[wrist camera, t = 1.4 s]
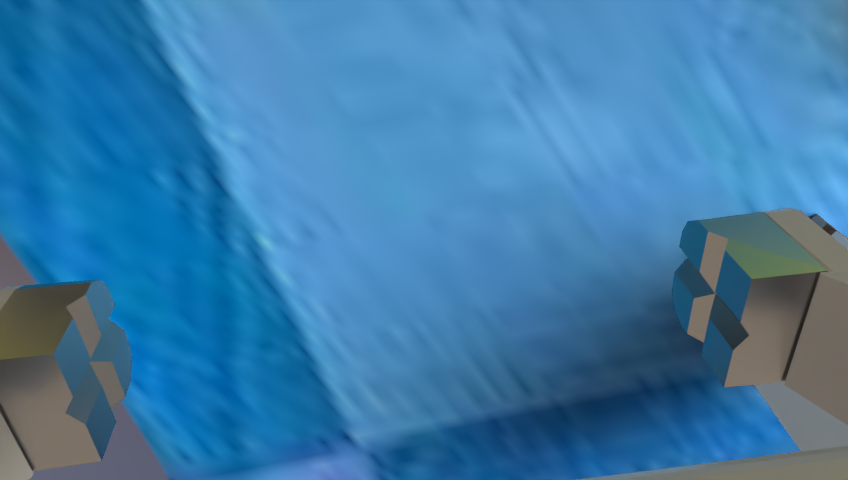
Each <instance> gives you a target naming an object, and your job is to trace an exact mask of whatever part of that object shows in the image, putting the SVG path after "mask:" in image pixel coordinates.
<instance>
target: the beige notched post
mask: <svg viewBox="0 0 848 480" xmlns="http://www.w3.org/2000/svg"><path fill="white" fill-rule="evenodd" d="M811 220H812V221H814V222H815V223H816V224H817V225H818V226H820V227H821V228H822V229H823V230H824V231H826V232H827V233H828V234H829V235H830V236H832V237H833V238H834V239H835V240H837V241H838V242H839V243H840V244H841V245H843V246H844V247H845V248H846V249H847V250H848V239H847V238H846V237H845V236H844V235H842V234H841V233H840V232H839V231H837V230H836V229H835V228H834V227H832V226H831V225H830V224H829V223H827V222H826V221H825V220H824V219H822V218H821V217H820V216H819V215H817V214H816V215H815V216H813V217H812V218H811ZM702 343H703V344H704V342H702ZM784 383H785V382H779V383H768V384H757V385H754V386H755V387H756V389H757V390H758V391H759V393H760V394H761V396H762V397H763V398H764V400H765V401H766V403H767V404H768V405H769V407H770V408H771V410H772V411H773V413H774V414H775V415H776V417H777V418H778V420H779V421H780V422H781V424H782V425H783V427H784V428H785V429H786V431H787V432H788V434H789V435H790V436H791V438H792V439H793V441H794V442H795V443H796V445H797V446H798V448H799V449H800V450H801V452H802V451H810V450H818V449H826V448H833V447H841V446H848V425H846V424H845V423H843V422H841V421H840V420H838V419H837V418H835V417H834V416H832V415H831V414H829V413H827V412H826V411H824V410H823V409H821V408H820V407H818V406H816V405H815V404H813V403H812V402H810V401H809V400H807V399H806V398H804V397H802V396H801V395H799V394H798V393H796V392H795V391H793V390H791V389H790V388H788V387H787V386H785V385H784Z"/></svg>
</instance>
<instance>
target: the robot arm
mask: <svg viewBox="0 0 848 480" xmlns="http://www.w3.org/2000/svg"><path fill="white" fill-rule="evenodd" d="M679 247H680V248H681V250H682V251H683V252H684V254H685V255H686V257H687V259H686V260H685V261H684V262H683V264H682V265H681V266H680V267H679V268H678V269H677V270H676V271H675V274H674V281H673V288H672V295H673V303H674V310H675V312H676V315H677V317H678V320H679V322H680V324H681V325H682V327H683V329H684V330H685V332H686V333H687V334H688V335H690V336H692V337H694V338H696V339H698V340H700V341H702V342H704V344H703V349H702V353H701V355H702V357H703V358H704V359H705V361H706V362H707V364H708V365H709V367H710V368H711V369H712V371H713V372H714V374H715V375H716V377H717V378H718V380H719V381H720V382H721V384H722V385H723V387H735V386H746V385H757V384H768V383H779V382H785V383H784V385H785V386H787V387H788V388H790V389H791V390H793V391H795V392H796V393H798V394H799V395H801V396H802V397H804V398H806V399H807V400H809V401H810V402H812V403H813V404H815V405H816V406H818V407H820V408H821V409H823V410H824V411H826V412H827V413H829V414H831V415H832V416H834V417H835V418H837V419H838V420H840V421H841V422H843V423H845V424H846V425H848V250H847V249H846V248H845V247H844V246H843V245H841V244H840V243H839V242H838V241H837V240H835V239H834V238H833V237H832V236H830V235H829V234H828V233H827V232H826V231H824V230H823V229H822V228H821V227H820V226H818V225H817V224H816V223H815V222H814V221H812V220H811V219H810V218H809V217H808V216H806V215H805V214H804V213H803V212H802V211H800V210H796V209H792V208H785V209H778V210H771V211H763V212H756V213H751V214H743V215H735V216H727V217H719V218H711V219H703V220H695V221H688V222H687V224H686V226H685V228H684V229H683V231H682V236H681V241H680V246H679ZM114 306H115V303H114V301H113V298H112V296H111V293H110V291H109V289H108V286H107V285H106V284H105V283H103V282H102V281H100V280H99V279H98V280H85V281H73V282H61V283H48V284H36V285H25V286H11V287H2V288H0V480H28V479H29V478H30V477H31V476H32V475H33V471H37V470H44V469H51V468H57V467H64V466H70V465H78V464H84V463H92V462H99V461H102V459H103V456H104V453H105V451H106V448H107V445H108V443H109V440H110V437H111V434H112V432H113V429H114V427H115V424H116V420H115V417H114V415H113V412H112V410H111V409H112V408H113V407H114V406H115V405H116V404H118V403H119V402H120V401H121V400H122V399H124V398H125V397H126V394H127V391H128V388H129V385H130V382H131V371H132V356H131V350H130V344H129V341H128V339H127V336H126V333H125V330H123V329H122V328H121V327H119V326H118V325H116V324H115V323H114V322H112V321H111V320H109V317H110V315H111V313H112V311H113V308H114ZM577 480H848V446H841V447H833V448H826V449H818V450H810V451H802V452H794V453H786V454H778V455H770V456H762V457H754V458H746V459H738V460H729V461H721V462H713V463H705V464H697V465H689V466H681V467H673V468H665V469H657V470H649V471H641V472H633V473H625V474H617V475H609V476H601V477H593V478H585V479H577Z"/></svg>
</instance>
